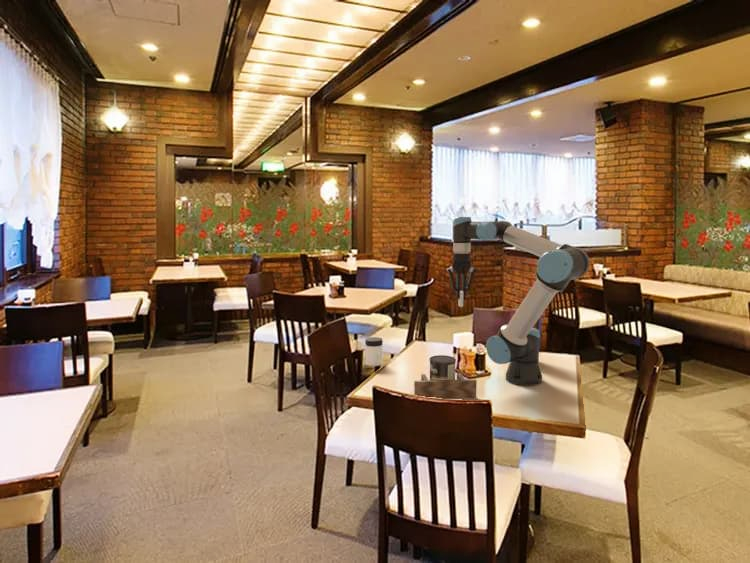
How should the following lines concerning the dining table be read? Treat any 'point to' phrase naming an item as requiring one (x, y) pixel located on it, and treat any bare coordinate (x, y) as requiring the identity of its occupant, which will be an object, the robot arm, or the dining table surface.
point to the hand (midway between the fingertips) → (460, 306)
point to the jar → (374, 351)
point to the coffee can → (442, 367)
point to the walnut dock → (446, 387)
